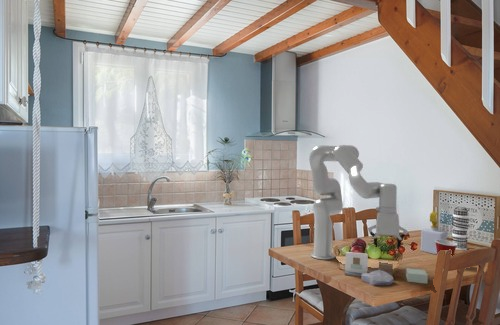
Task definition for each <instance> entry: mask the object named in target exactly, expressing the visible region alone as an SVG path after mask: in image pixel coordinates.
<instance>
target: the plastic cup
mask: <svg viewBox="0 0 500 325" xmlns="http://www.w3.org/2000/svg"><path fill="white" fill-rule="evenodd" d="M435 243H436V249H437V254H438V252H439V251H440V250H449V249H451V250H452V254H451V255H452V256H453V255H455V251H456V250H457V249H456V246H457V245H458V244H457V243H455V242H452V240H440V239H437V240H435ZM453 257H454V256H453Z"/></svg>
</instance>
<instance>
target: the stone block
mask: <svg viewBox="0 0 500 325" xmlns="http://www.w3.org/2000/svg"><path fill="white" fill-rule="evenodd" d="M360 278H361V282H364V283H366V284H368V285H371V286H374V287H375V286H389V285H392V284H393V283H394V276H393V275H392V276H391V275H390V274H388V273H387V272H384V271H382V270H378V269H375V270H372V271H370V272H369V273H368V272H367V273H363V274H362V277H360Z"/></svg>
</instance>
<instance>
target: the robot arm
mask: <svg viewBox="0 0 500 325" xmlns="http://www.w3.org/2000/svg"><path fill="white" fill-rule="evenodd" d="M359 157H360V152H359V150H358V148H357V147H356V146H354V145H351V144H350V145H346V144H342V145H317V146H315V147H313V148H312V149H311V151H310V153H309V158H308V159H309V160H308V161H309V164H310V165H309V166H310V170H311V178H312V188H313V192H314V194H315V195H316V196H320V197H323V196H325V197H323V198H318V199H315V201H314V202H313V205H312V209H313V210H312V212H313V217H314V218H313V219H314V220H313V221H314V228H313V230H314V233H313V234H314V235H313V236H314V237H313V252H311V253H310V257H312V258H314V259H316V260H324V261H325V260H333V259H335V254H334V253H333V252H332V249H333V248H332V247H333V221H332V218H331V216H335V215H339V214H340V213H341V212H342V210H343V206H344V205H343V196H342V188H341V184H340V182H339V181H338V180H337V179H336V178H333V177H329V173H328V169H327V165H325V163H324V162H338V163H339V164H340V166H341V167H342V168H343V169H344V170H345V172H346V173H347V174H348V179H349V184H350V186H351V187H352V189H353V190H354V191H355V192H356V193H357V195H358V196H360V197H361V199H362V198H363V199H365V200H369V199H379V201H378V204H379V206H378V207H375V211H378V212H377V214H376V220H375V222H376V223H375V225H374V224H373V225H372V226H370V227H367V230H368V232H369V234H370V236H371V237H372V238H373V245H374V246H375V247H376V248H378V236H387V237H388V236H389V237H396V238H397V239H396V248H397V249H400V247H401V245H402V240H403V239H404V238H405V237H406V235H407V233H408V231H409V230H407V229H406V228H405V227H404V228H403V227H402V226H400V218H399V214H398V213H397V197H398V196H397V192H398V191H397V189H398V187H397V185H396V184H395V183H383V182H379V181H375V182H374V181H371V182H367V180H365V178H364V177H363V176H362V175H361V171H363V168H364V164H363V162H361V160H360V159H359ZM374 229H375V232H373V230H374ZM400 231H401V232H402V234H400Z"/></svg>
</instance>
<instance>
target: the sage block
mask: <svg viewBox="0 0 500 325" xmlns="http://www.w3.org/2000/svg"><path fill="white" fill-rule="evenodd" d="M405 277H406V280H407V282H409V283H417V284H428V273H427V272H426V270H425V269H419V268H418V269H417V268H406V269H405Z"/></svg>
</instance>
